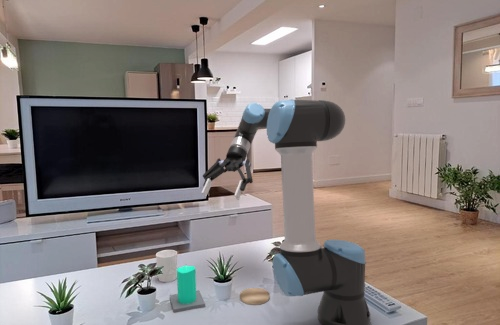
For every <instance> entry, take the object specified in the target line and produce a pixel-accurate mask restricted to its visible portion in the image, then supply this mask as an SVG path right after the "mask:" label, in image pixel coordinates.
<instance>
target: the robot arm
mask: <svg viewBox="0 0 500 325" xmlns="http://www.w3.org/2000/svg"><path fill="white" fill-rule="evenodd" d="M345 125H346V115H345V112H344V111H343V108H341V107H340V106H339V105H338V104H336V103H335V102H333V101H330V100H323V99H322V100H314V99H313V100H311V99H309V100H308V99H285V100H284V99H283V100H278V101H276V102H275V103H274V104H273V105H272V106H271V107H270V108H265V107H263V105H262V104H259V103H257V102H251V103H249V104H247V105H246V106H245V109H244V110H243V113H242V116H241V118H240V122H239V125H238V127H237V129H236V132H235V134H234V136H233V139H232V141H231V143H230V145H229V148H228V150H227V152H226V155H225V159H223V160H222V159H221V158H220V157H219V158H217V159H216V161H215V162H214V164H213V165H211V167H209V169H207V170H206V171H205V173H203V175H202V178H203V179H204V183H203V185H202V186H203V188H202V190H201V195H203V197H204V198H206V197H207V195H208V193H209V191H210V189H211V187H212V184H213V181H214V180H216V179H217V178H218V177H219V176H221V175H223V174H224V173H227V172H232V173H233V172H237V173H238V174H239V177H240V178H241V179H240V180H239V183H238V185H237V187H236V190H235V192H234V195H233V196H234V197H235V199H236V200H240V198H241V195H242V193H243V192H244V191H245V190H246V187H247V184H252V183H253V182H254V181H253V180H254V179H253V176H252V170H251V167H252V164H251V161H250V159H249V158H248V159H247V157H248V154H249V151H250V149H251V146H252V143H253V140H254V139H255V136H256V134H257V132H258V129H266V136H267V139H268V141H269V142H270V143H272V144H274V150H275V151H276V152H277V153H278V154H279V155H280V163H281V164H280V168H281V187H282V188H281V189H282V208H283V209H282V210H283V229H284V240H283V242H281V244H280V245H279V253H276V254H275V255H274V256H273V259H272V269H273V273H274V276H275V280H276V283H277V285H278V287H279V289H280V290H281V292H282V293H283V294H284V295H286V296H287V297H289V298H291V297H303V296H305V295H307V296H308V295H311V294H312V295H313V294H318V293H322V292H323V293H322V296H321V298H320V302H319V305H318V307H317V319H318V321H319V323H320V324H321V325H371V313H370V309H369V307H368V302H367V300H366V297H365V290H366V289H365V288H366V286H365V284H366V283H365V280H366V276H365V275H366V270H365V269H366V264H367V262H366V252H365V250H364V248H363V247H362V246H360V245H359V244H358V243H355V242H352V241H348V240H342V239H327V240H325V241H324V243H323V244H321V243H320V242H319V241H318V240H317V239H316V219H315V200H314V199H315V198H314V197H315V196H314V177H313V176H314V175H313V153H314V152H315V150H316V149H317V148H318V144H317V142H325V141H330V140H333V139H334V138H336V137H338V136H339V135H340V134H341V133H342V131H343V130H344V128H345ZM242 167H245V171H246V176H245V175H244V174H243V171H242V169H241V168H242ZM246 177H247V178H246ZM322 245H323V247H322Z"/></svg>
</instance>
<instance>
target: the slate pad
mask: <svg viewBox="0 0 500 325" xmlns="http://www.w3.org/2000/svg"><path fill="white" fill-rule="evenodd" d="M169 299H170V305H171V307H172V311H173V313H179V312H184V311H189V310H190V311H191V310H193V309H194V310H196V309H200V308H206V302H205V300H204V298H203V296H202V293H201V292H200V290H199V289H198V290H197V289H196V300H195V301H194V302H192V303H189V304H183V303H180V302H179V301H178V293H176V294H175V293H174V294H170V295H169Z"/></svg>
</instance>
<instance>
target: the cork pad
mask: <svg viewBox="0 0 500 325" xmlns="http://www.w3.org/2000/svg"><path fill="white" fill-rule="evenodd" d="M239 299H240V301H241V302H242V303H243V304H246V305H251V306H256V305H257V306H258V305H259V306H260V305H263V304H266V303H267V302H269V300H270V292H269V291H268V289H267V290H266V289H264V288H261V287H251V288H246V289H244V290H242V291H241V292H240V293H239Z"/></svg>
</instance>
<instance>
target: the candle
mask: <svg viewBox="0 0 500 325" xmlns="http://www.w3.org/2000/svg"><path fill="white" fill-rule="evenodd" d="M196 276H197V275H196V267H195V265H187V264H185V265H183V266H180V267H177V278H176V282H177V283H176V286H177V294H178V301H179V302H180V303H183V304H189V303H192V302H194V301H195V300H196V291H197V278H196Z"/></svg>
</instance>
